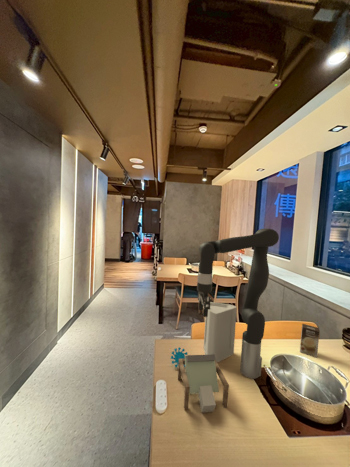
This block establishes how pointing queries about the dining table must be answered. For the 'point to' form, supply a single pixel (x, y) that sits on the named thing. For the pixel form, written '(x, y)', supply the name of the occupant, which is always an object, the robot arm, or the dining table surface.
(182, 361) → the stand
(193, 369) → the trapdoor
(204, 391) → the small gray block
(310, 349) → the coffee box
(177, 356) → the teal piece
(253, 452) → the dining table surface
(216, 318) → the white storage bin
